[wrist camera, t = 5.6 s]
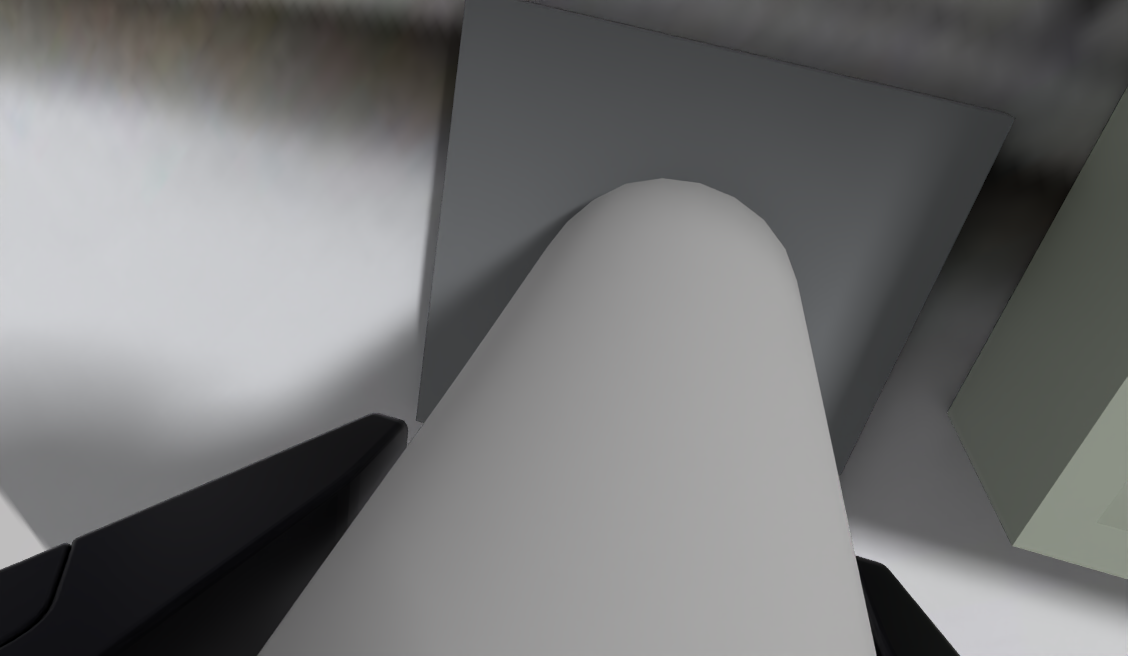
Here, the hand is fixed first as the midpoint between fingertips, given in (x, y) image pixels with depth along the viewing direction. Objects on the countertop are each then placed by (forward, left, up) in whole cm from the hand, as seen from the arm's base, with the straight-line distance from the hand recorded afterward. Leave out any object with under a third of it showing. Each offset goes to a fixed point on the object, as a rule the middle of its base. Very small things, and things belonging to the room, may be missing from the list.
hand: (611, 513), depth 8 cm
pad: (0, 0, -7) cm, 7 cm away
